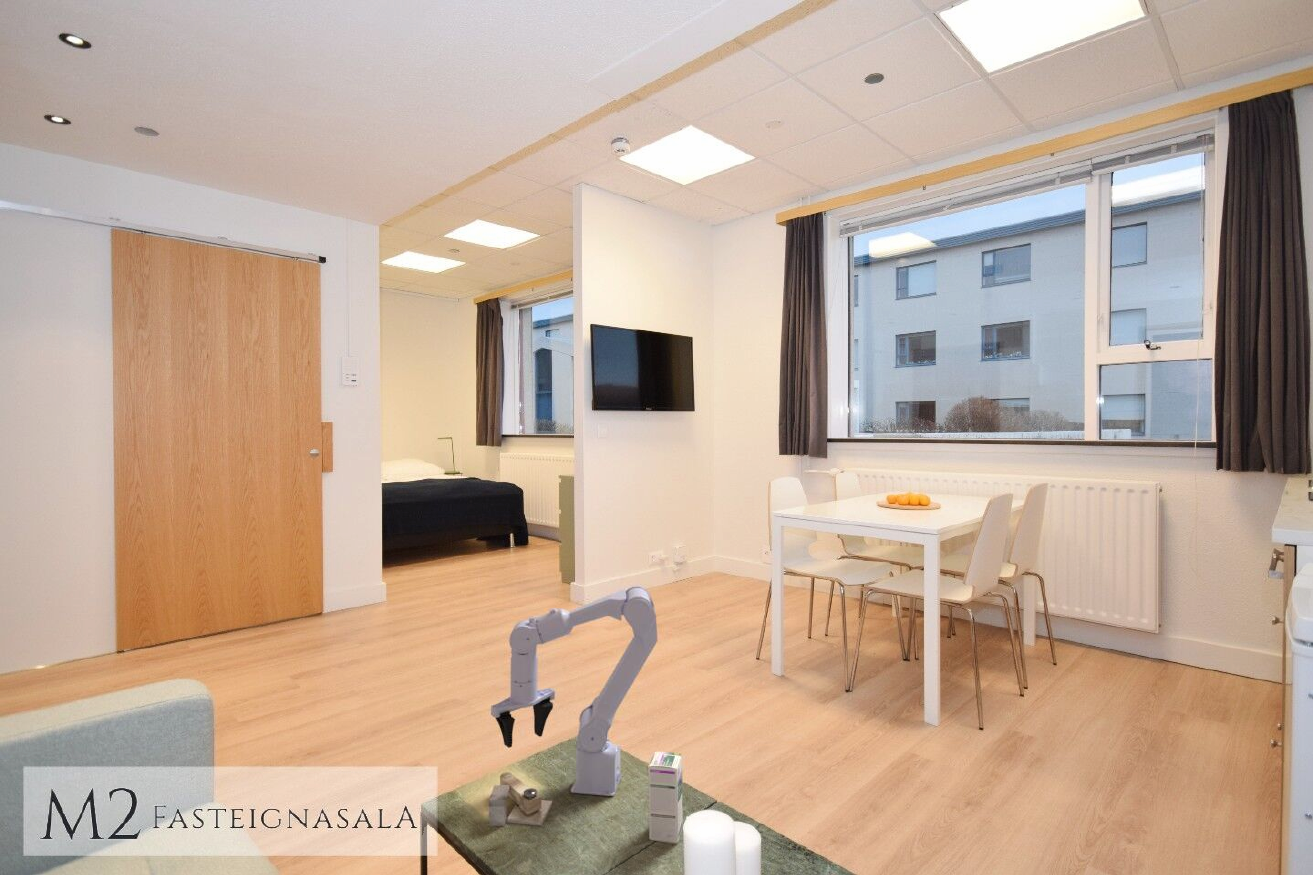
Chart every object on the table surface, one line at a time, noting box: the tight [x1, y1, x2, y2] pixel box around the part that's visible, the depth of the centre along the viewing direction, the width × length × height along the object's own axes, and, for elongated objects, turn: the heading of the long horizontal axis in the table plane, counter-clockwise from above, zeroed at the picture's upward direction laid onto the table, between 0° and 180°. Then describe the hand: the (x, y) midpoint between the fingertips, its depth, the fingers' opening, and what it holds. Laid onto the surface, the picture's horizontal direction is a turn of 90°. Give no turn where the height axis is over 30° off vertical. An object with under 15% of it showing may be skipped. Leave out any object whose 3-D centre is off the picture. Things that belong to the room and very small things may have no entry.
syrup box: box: [647, 751, 684, 844], centre depth 125 cm, size 6×6×14 cm
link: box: [499, 772, 542, 815], centre depth 135 cm, size 13×3×2 cm, turn 41°
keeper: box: [488, 784, 509, 827], centre depth 130 cm, size 3×5×5 cm, turn 3°
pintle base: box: [506, 787, 553, 827], centre depth 131 cm, size 7×7×4 cm
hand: (523, 739), depth 140 cm, fingers open, 7 cm apart
